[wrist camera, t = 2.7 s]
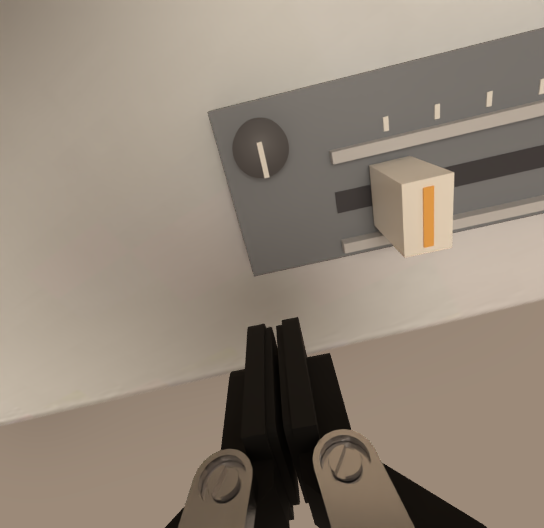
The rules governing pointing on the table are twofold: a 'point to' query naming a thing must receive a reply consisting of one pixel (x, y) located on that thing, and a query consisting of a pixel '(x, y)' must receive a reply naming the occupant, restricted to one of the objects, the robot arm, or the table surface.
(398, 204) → the fader
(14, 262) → the table surface
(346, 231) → the console
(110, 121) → the table surface
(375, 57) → the table surface
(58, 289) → the table surface
